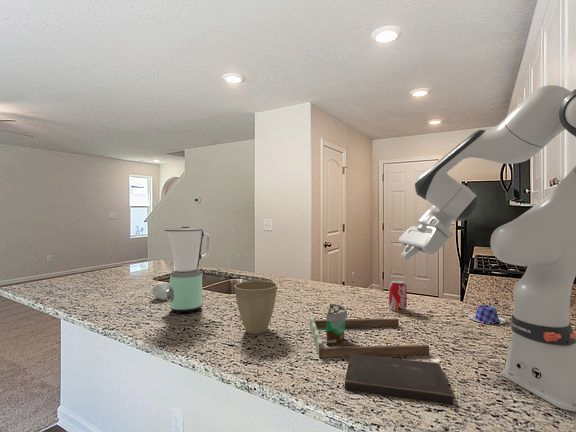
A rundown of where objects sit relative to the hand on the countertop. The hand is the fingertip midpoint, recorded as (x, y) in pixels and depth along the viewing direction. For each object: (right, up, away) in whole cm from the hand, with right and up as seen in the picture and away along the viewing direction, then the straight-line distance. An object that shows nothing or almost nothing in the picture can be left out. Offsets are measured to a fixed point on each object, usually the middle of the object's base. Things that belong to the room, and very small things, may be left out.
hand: (403, 257), depth 106 cm
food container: (-22, -27, -1) cm, 34 cm away
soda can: (+8, -26, +30) cm, 41 cm away
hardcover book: (-11, -28, -25) cm, 39 cm away
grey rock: (-98, -26, +49) cm, 112 cm away
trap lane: (-13, -26, 0) cm, 30 cm away
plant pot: (-49, -27, +8) cm, 56 cm away
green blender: (-80, -26, +32) cm, 90 cm away
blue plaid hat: (+38, -26, +18) cm, 50 cm away
